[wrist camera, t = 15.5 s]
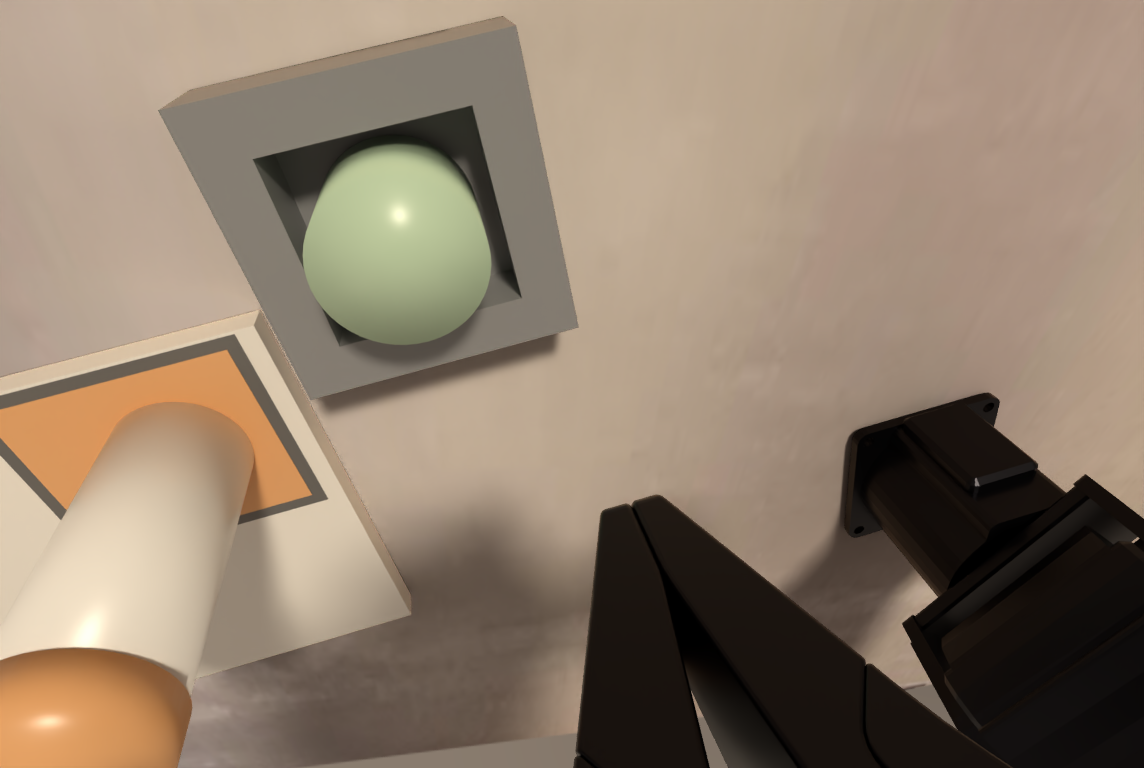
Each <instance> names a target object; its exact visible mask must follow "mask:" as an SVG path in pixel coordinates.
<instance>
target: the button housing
mask: <svg viewBox="0 0 1144 768" xmlns="http://www.w3.org/2000/svg"><path fill="white" fill-rule="evenodd" d="M158 111H159V113H160V115H161V117H162V119H163V121H164V123H165V125H166V126H167V128H168V130H169V132H170V134H171V136H172V138H173V140H174V142H175V144H176V145H177V147H178V149H179V151H180V153H181V155H182V157H183V159H184V161H185V163H186V164H187V166H188V168H189V170H190V172H191V174H192V176H193V178H194V180H195V182H196V183H197V185H198V187H199V189H200V191H201V193H202V195H203V197H204V199H205V201H206V202H207V204H208V206H209V208H210V210H211V212H212V214H213V216H214V218H215V220H216V221H217V223H218V225H219V227H220V229H221V231H222V233H223V235H224V237H225V239H226V240H227V242H228V244H229V246H230V248H231V250H232V252H233V254H234V256H235V258H236V259H237V261H238V263H239V265H240V267H241V269H242V271H243V273H244V275H245V277H246V278H247V280H248V282H249V284H250V286H251V288H252V290H253V292H254V294H255V296H256V297H257V299H258V301H259V303H260V305H261V307H262V309H263V311H264V313H265V315H266V316H267V318H268V320H269V322H270V324H271V326H272V328H273V330H274V332H275V334H276V335H277V337H278V339H279V341H280V343H281V345H282V347H283V349H284V351H285V353H286V354H287V356H288V358H289V360H290V362H291V364H292V366H293V368H294V370H295V372H296V373H297V375H298V377H299V379H300V381H301V383H302V385H303V387H304V389H305V391H306V392H307V394H308V396H309V398H310V400H313V399H317V398H320V397H324V396H328V395H331V394H335V393H339V392H342V391H346V390H350V389H353V388H357V387H361V386H365V385H368V384H372V383H376V382H379V381H383V380H387V379H390V378H394V377H398V376H401V375H405V374H409V373H412V372H416V371H420V370H423V369H427V368H431V367H434V366H438V365H442V364H446V363H449V362H453V361H457V360H460V359H464V358H468V357H471V356H475V355H479V354H482V353H486V352H490V351H493V350H497V349H501V348H504V347H508V346H512V345H515V344H519V343H523V342H527V341H530V340H534V339H538V338H541V337H545V336H549V335H552V334H556V333H560V332H563V331H567V330H571V329H574V328H578V322H577V317H576V312H575V307H574V303H573V298H572V293H571V288H570V283H569V278H568V274H567V269H566V264H565V259H564V254H563V249H562V245H561V240H560V235H559V230H558V225H557V220H556V216H555V211H554V206H553V201H552V196H551V191H550V187H549V182H548V177H547V172H546V167H545V162H544V158H543V153H542V148H541V143H540V138H539V133H538V129H537V124H536V119H535V114H534V109H533V104H532V100H531V95H530V90H529V85H528V80H527V75H526V71H525V66H524V61H523V56H522V51H521V46H520V42H519V37H518V32H517V27H516V25H515V24H514V23H512V22H511V21H509V20H508V19H506V18H505V17H503V16H501V17H497V18H492V19H488V20H484V21H480V22H475V23H471V24H467V25H463V26H458V27H454V28H450V29H446V30H442V31H437V32H433V33H429V34H425V35H420V36H416V37H412V38H408V39H404V40H399V41H395V42H391V43H387V44H382V45H378V46H374V47H370V48H365V49H361V50H357V51H353V52H349V53H344V54H340V55H336V56H332V57H327V58H323V59H319V60H315V61H311V62H306V63H302V64H298V65H294V66H289V67H285V68H281V69H277V70H272V71H268V72H264V73H260V74H256V75H251V76H247V77H243V78H239V79H234V80H230V81H226V82H222V83H218V84H213V85H209V86H205V87H201V88H196V89H192V90H189V91H187V92H186V93H184V94H183V95H181V96H180V97H178V98H177V99H175V100H173V101H172V102H170V103H169V104H167V105H166V106H164V107H163V108H161V109H160V110H158ZM384 135H402V136H409V137H414V138H418V139H421V140H423V141H426V142H428V143H430V144H432V145H434V146H436V147H438V148H439V149H441V150H442V151H444V152H445V153H447V154H448V155H449V156H450V157H451V158H452V159H453V160H455V162H456V163H457V164H458V165H459V166H460V167H461V168H462V170H463V171H464V173H465V174H466V176H467V178H468V180H469V182H470V184H471V186H472V188H473V191H474V194H475V197H476V201H477V204H478V208H479V211H480V215H481V218H482V222H483V226H484V229H485V233H486V236H487V240H488V244H489V249H490V253H491V274H490V280H489V284H488V287H487V290H486V293H485V295H484V297H483V299H482V301H481V303H480V305H479V306H478V308H477V309H476V310H475V312H474V313H473V314H472V315H471V316H470V317H469V318H468V319H467V321H465V322H464V323H463V324H462V325H461V326H459V327H458V328H457V329H455V330H453V331H452V332H450V333H449V334H446V335H444V336H442V337H440V338H438V339H435V340H432V341H429V342H424V343H419V344H411V345H393V344H385V343H380V342H376V341H372V340H369V339H366V338H363V337H361V336H359V335H357V334H355V333H353V332H351V331H349V330H347V329H346V328H344V327H343V326H341V325H340V324H339V323H337V322H336V321H335V320H334V319H333V318H331V317H330V316H329V315H328V314H327V312H326V311H325V310H324V309H323V308H322V307H321V305H320V304H319V303H318V301H317V300H316V298H315V297H314V295H313V293H312V291H311V289H310V287H309V284H308V282H307V279H306V275H305V271H304V266H303V243H304V239H305V235H306V231H307V228H308V225H309V222H310V220H311V217H312V214H313V211H314V208H315V206H316V203H317V200H318V197H319V194H320V191H321V189H322V186H323V183H324V180H325V178H326V175H327V173H328V172H329V170H330V168H331V166H332V165H333V164H334V163H335V161H336V160H337V159H338V158H339V157H340V156H341V155H342V154H343V153H344V152H345V151H346V150H348V149H349V148H351V147H352V146H354V145H356V144H358V143H360V142H362V141H364V140H367V139H370V138H373V137H378V136H384Z"/></svg>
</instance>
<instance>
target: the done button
mask: <svg viewBox="0 0 1144 768" xmlns="http://www.w3.org/2000/svg"><path fill="white" fill-rule="evenodd" d="M303 266H304V271H305V275H306V279H307V282H308V284H309V287H310V289H311V291H312V293H313V295H314V297H315V298H316V300H317V301H318V303H319V304H320V305H321V307H322V308H323V309H324V310H325V311H326V312H327V314H328V315H329V316H330V317H331V318H333V319H334V320H335V321H336V322H337V323H339V324H340V325H341V326H343V327H344V328H346V329H347V330H349V331H351V332H353V333H355V334H357V335H359V336H361V337H363V338H366V339H369V340H372V341H376V342H380V343H385V344H393V345H411V344H419V343H424V342H429V341H432V340H435V339H438V338H440V337H442V336H444V335H446V334H449V333H450V332H452V331H453V330H455V329H457V328H458V327H459V326H461V325H462V324H463V323H464V322H465V321H467V319H468V318H469V317H470V316H471V315H472V314H473V313H474V312H475V310H476V309H477V308H478V306H479V305H480V303H481V301H482V299H483V297H484V295H485V293H486V290H487V287H488V284H489V280H490V274H491V253H490V249H489V244H488V240H487V236H486V233H485V229H484V226H483V222H482V218H481V215H480V211H479V208H478V204H477V201H476V197H475V194H474V191H473V188H472V186H471V184H470V182H469V180H468V178H467V176H466V174H465V173H464V171H463V170H462V168H461V167H460V166H459V165H458V164H457V163H456V162H455V160H453V159H452V158H451V157H450V156H449V155H448V154H447V153H445V152H444V151H442V150H441V149H439V148H438V147H436V146H434V145H432V144H430V143H428V142H426V141H423V140H421V139H418V138H414V137H409V136H402V135H384V136H378V137H373V138H370V139H367V140H364V141H362V142H360V143H358V144H356V145H354V146H352V147H351V148H349V149H348V150H346V151H345V152H344V153H343V154H342V155H341V156H340V157H339V158H338V159H337V160H336V161H335V163H334V164H333V165H332V166H331V168H330V170H329V172H328V173H327V175H326V178H325V180H324V183H323V186H322V189H321V191H320V194H319V197H318V200H317V203H316V206H315V208H314V211H313V214H312V217H311V220H310V222H309V225H308V228H307V231H306V235H305V239H304V243H303Z"/></svg>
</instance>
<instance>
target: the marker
mask: <svg viewBox="0 0 1144 768" xmlns="http://www.w3.org/2000/svg"><path fill="white" fill-rule="evenodd" d="M253 465H254V450H253V446H252V444H251V441H250V439H249V438H248V436H247V434H246V433H245V432H244V431H243V429H242V428H241V427H240V426H239V425H237V424H236V423H235V422H234V421H233V420H231V419H230V418H228V417H227V416H225V415H223V414H222V413H220V412H217V411H215V410H213V409H210V408H207V407H205V406H201V405H197V404H192V403H185V402H161V403H154V404H150V405H146V406H143V407H141V408H138V409H136V410H134V411H132V412H130V413H129V414H127V415H126V416H124V417H123V418H122V419H121V420H120V421H119V422H118V423H117V425H116V426H115V427H114V429H113V431H112V432H111V434H110V436H109V438H108V439H107V441H106V443H105V445H104V446H103V448H102V450H101V452H100V453H99V455H98V457H97V459H96V460H95V462H94V464H93V466H92V467H91V469H90V471H89V473H88V474H87V476H86V478H85V480H84V481H83V483H82V485H81V487H80V488H79V490H78V492H77V494H76V495H75V497H74V499H73V501H72V502H71V504H70V506H69V508H68V509H67V511H66V513H65V515H64V516H63V518H62V520H61V522H60V523H59V525H58V527H57V529H56V530H55V532H54V534H53V536H52V537H51V539H50V541H49V543H48V544H47V546H46V548H45V550H44V551H43V553H42V555H41V556H40V558H39V560H38V562H37V563H36V565H35V567H34V569H33V570H32V572H31V574H30V576H29V577H28V579H27V581H26V583H25V584H24V586H23V588H22V590H21V591H20V593H19V595H18V597H17V598H16V600H15V602H14V604H13V605H12V607H11V609H10V611H9V612H8V614H7V616H6V618H5V619H4V621H3V623H2V625H1V626H0V768H177V767H178V763H179V759H180V755H181V751H182V748H183V744H184V740H185V736H186V732H187V729H188V725H189V721H190V717H191V713H192V701H191V695H192V691H193V687H194V684H195V680H196V676H197V672H198V669H199V665H200V661H201V658H202V654H203V650H204V647H205V643H206V639H207V635H208V632H209V628H210V624H211V621H212V617H213V613H214V609H215V606H216V602H217V598H218V595H219V591H220V587H221V584H222V580H223V576H224V572H225V569H226V565H227V561H228V558H229V554H230V550H231V547H232V543H233V539H234V535H235V532H236V528H237V524H238V521H239V517H240V513H241V510H242V506H243V502H244V498H245V495H246V491H247V487H248V484H249V480H250V476H251V472H252V469H253Z"/></svg>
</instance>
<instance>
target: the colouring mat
mask: <svg viewBox="0 0 1144 768" xmlns="http://www.w3.org/2000/svg"><path fill="white" fill-rule="evenodd" d="M161 402H185V403H192V404H197V405H201V406H205V407H207V408H210V409H213V410H215V411H217V412H220V413H222V414H223V415H225V416H227V417H228V418H230V419H231V420H233V421H234V422H235V423H236V424H237V425H239V426H240V427H241V428H242V429H243V431H244V432H245V433H246V434H247V436H248V438H249V439H250V441H251V444H252V446H253V450H254V465H253V469H252V472H251V476H250V480H249V484H248V487H247V491H246V495H245V498H244V502H243V506H242V510H241V513H240V517H239V521H238V524H237V528H236V532H235V535H234V539H233V543H232V547H231V550H230V554H229V558H228V561H227V565H226V569H225V572H224V576H223V580H222V584H221V587H220V591H219V595H218V598H217V602H216V606H215V609H214V613H213V617H212V621H211V624H210V628H209V632H208V635H207V639H206V643H205V647H204V650H203V654H202V658H201V661H200V665H199V669H198V672H197V676H196V679H197V678H201V677H204V676H207V675H211V674H214V673H217V672H221V671H224V670H228V669H231V668H234V667H238V666H241V665H244V664H248V663H251V662H254V661H258V660H261V659H265V658H268V657H271V656H275V655H278V654H281V653H285V652H288V651H292V650H295V649H298V648H302V647H305V646H308V645H312V644H315V643H318V642H322V641H325V640H329V639H332V638H335V637H339V636H342V635H345V634H349V633H352V632H356V631H359V630H362V629H366V628H369V627H372V626H376V625H379V624H382V623H386V622H389V621H393V620H396V619H399V618H403V617H406V616H409V615H411V594H410V592H409V590H408V588H407V587H406V585H405V583H404V581H403V579H402V577H401V575H400V573H399V571H398V570H397V568H396V566H395V564H394V562H393V560H392V558H391V556H390V554H389V553H388V551H387V549H386V547H385V545H384V543H383V541H382V539H381V537H380V536H379V534H378V532H377V530H376V528H375V526H374V524H373V522H372V520H371V519H370V517H369V515H368V513H367V511H366V509H365V507H364V505H363V503H362V502H361V500H360V498H359V496H358V494H357V492H356V490H355V488H354V486H353V485H352V483H351V481H350V479H349V477H348V475H347V473H346V471H345V469H344V468H343V466H342V464H341V462H340V460H339V458H338V456H337V454H336V452H335V451H334V449H333V447H332V445H331V443H330V441H329V439H328V437H327V435H326V434H325V432H324V430H323V428H322V426H321V424H320V422H319V420H318V418H317V417H316V415H315V413H314V411H313V409H312V407H311V405H310V403H309V401H308V400H307V398H306V396H305V394H304V392H303V390H302V388H301V386H300V384H299V383H298V381H297V379H296V377H295V375H294V373H293V371H292V369H291V367H290V366H289V364H288V362H287V360H286V358H285V356H284V354H283V352H282V350H281V349H280V347H279V345H278V343H277V341H276V339H275V337H274V335H273V333H272V332H271V330H270V328H269V326H268V324H267V322H266V320H265V318H264V316H263V315H262V313H261V311H260V310H257V311H254V312H250V313H246V314H242V315H238V316H234V317H231V318H227V319H223V320H219V321H215V322H211V323H208V324H204V325H200V326H196V327H192V328H188V329H185V330H181V331H177V332H173V333H169V334H165V335H162V336H158V337H154V338H150V339H146V340H142V341H139V342H135V343H131V344H127V345H123V346H119V347H116V348H112V349H108V350H104V351H100V352H96V353H93V354H89V355H85V356H81V357H77V358H73V359H70V360H66V361H62V362H58V363H54V364H50V365H47V366H43V367H39V368H35V369H31V370H27V371H24V372H20V373H16V374H12V375H8V376H4V377H1V378H0V626H1V625H2V623H3V621H4V619H5V618H6V616H7V614H8V612H9V611H10V609H11V607H12V605H13V604H14V602H15V600H16V598H17V597H18V595H19V593H20V591H21V590H22V588H23V586H24V584H25V583H26V581H27V579H28V577H29V576H30V574H31V572H32V570H33V569H34V567H35V565H36V563H37V562H38V560H39V558H40V556H41V555H42V553H43V551H44V550H45V548H46V546H47V544H48V543H49V541H50V539H51V537H52V536H53V534H54V532H55V530H56V529H57V527H58V525H59V523H60V522H61V520H62V518H63V516H64V515H65V513H66V511H67V509H68V508H69V506H70V504H71V502H72V501H73V499H74V497H75V495H76V494H77V492H78V490H79V488H80V487H81V485H82V483H83V481H84V480H85V478H86V476H87V474H88V473H89V471H90V469H91V467H92V466H93V464H94V462H95V460H96V459H97V457H98V455H99V453H100V452H101V450H102V448H103V446H104V445H105V443H106V441H107V439H108V438H109V436H110V434H111V432H112V431H113V429H114V427H115V426H116V425H117V423H118V422H119V421H120V420H121V419H122V418H123V417H124V416H126V415H127V414H129V413H130V412H132V411H134V410H136V409H138V408H141V407H143V406H146V405H150V404H154V403H161Z"/></svg>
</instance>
